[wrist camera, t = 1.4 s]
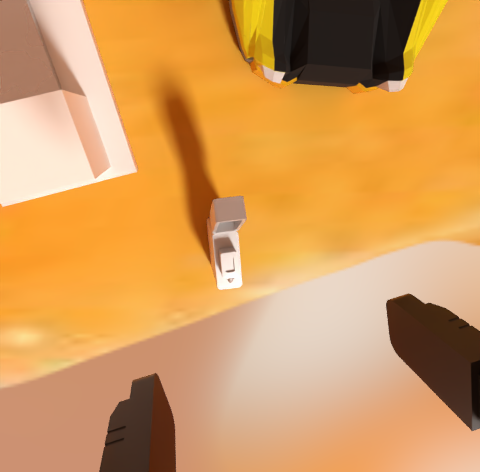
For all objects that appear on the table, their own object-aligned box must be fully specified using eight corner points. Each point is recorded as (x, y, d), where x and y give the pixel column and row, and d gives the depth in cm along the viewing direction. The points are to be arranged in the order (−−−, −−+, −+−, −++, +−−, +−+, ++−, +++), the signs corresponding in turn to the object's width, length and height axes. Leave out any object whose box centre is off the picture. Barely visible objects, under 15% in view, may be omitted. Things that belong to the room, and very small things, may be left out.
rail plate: (17, -196, 20) (8, -215, 18) (138, 169, 26) (136, 171, 25) (-161, -168, 19) (-183, -186, 18) (10, 203, 25) (2, 206, 24)
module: (86, 97, 23) (61, 89, 18) (111, 166, 25) (94, 179, 19) (-17, 121, 23) (-76, 121, 17) (14, 191, 24) (-31, 211, 19)
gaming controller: (217, -89, 23) (213, 84, 26) (231, -151, 17) (224, 75, 20) (432, -55, 25) (406, 98, 28) (499, -100, 20) (459, 93, 23)
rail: (-43, -194, 18) (-51, -205, 18) (94, 174, 25) (92, 176, 24) (-116, -182, 18) (-127, -194, 17) (41, 188, 24) (38, 190, 24)
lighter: (232, 264, 30) (253, 312, 22) (211, 267, 29) (225, 317, 22) (224, 177, 27) (245, 197, 20) (202, 179, 27) (214, 201, 20)
